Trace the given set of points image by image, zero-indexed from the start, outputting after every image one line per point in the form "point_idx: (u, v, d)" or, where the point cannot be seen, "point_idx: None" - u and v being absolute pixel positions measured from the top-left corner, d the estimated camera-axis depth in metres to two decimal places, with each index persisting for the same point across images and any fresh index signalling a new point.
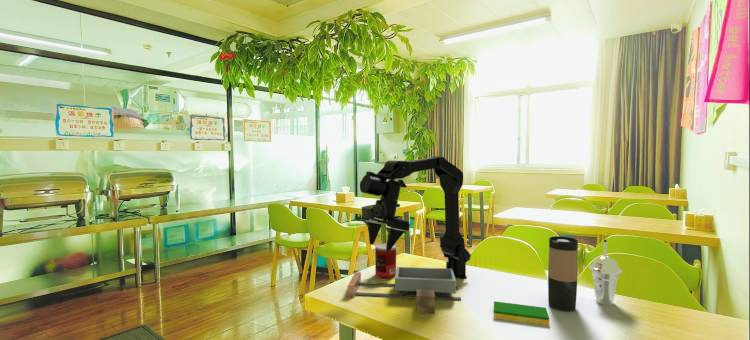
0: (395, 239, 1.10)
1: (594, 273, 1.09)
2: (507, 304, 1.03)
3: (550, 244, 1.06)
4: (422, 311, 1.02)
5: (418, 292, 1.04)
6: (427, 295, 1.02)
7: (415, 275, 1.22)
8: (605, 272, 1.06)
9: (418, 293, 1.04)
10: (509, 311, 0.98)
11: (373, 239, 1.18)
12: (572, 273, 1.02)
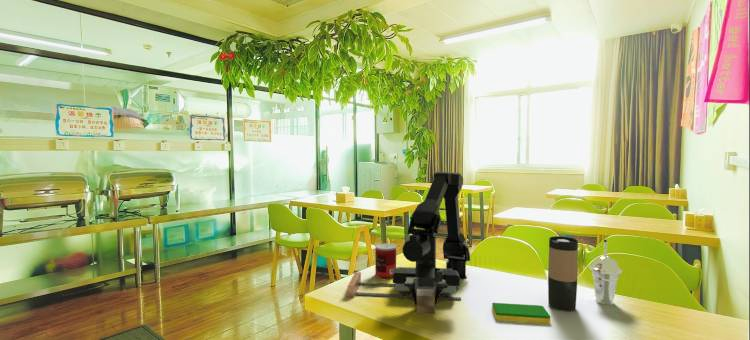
0: None
1: (594, 273, 1.09)
2: (506, 305, 1.03)
3: (550, 244, 1.06)
4: (422, 311, 1.02)
5: (418, 292, 1.04)
6: (427, 295, 1.02)
7: None
8: (605, 272, 1.06)
9: (418, 293, 1.04)
10: (511, 312, 0.98)
11: (416, 299, 1.05)
12: (572, 273, 1.02)
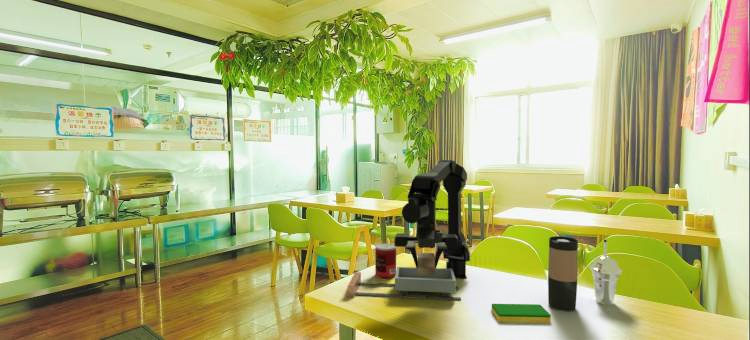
0: None
1: (594, 273, 1.09)
2: (505, 305, 1.02)
3: (550, 244, 1.06)
4: (423, 272, 1.07)
5: (419, 255, 1.09)
6: (428, 257, 1.07)
7: (415, 275, 1.22)
8: (605, 272, 1.06)
9: (419, 255, 1.08)
10: (512, 313, 0.98)
11: None
12: (572, 273, 1.02)
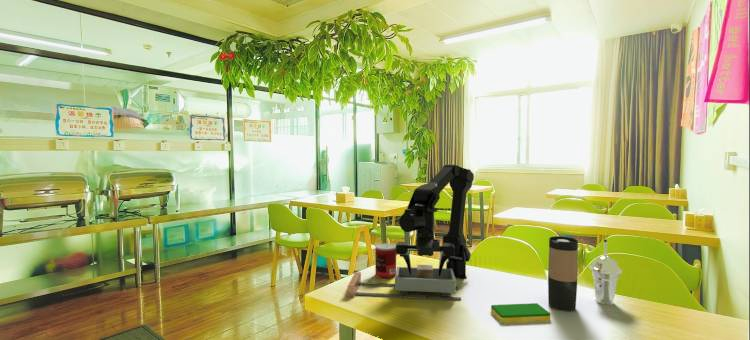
0: None
1: (594, 273, 1.09)
2: (505, 306, 1.02)
3: (550, 244, 1.06)
4: None
5: (418, 266, 1.17)
6: (426, 269, 1.15)
7: (415, 275, 1.22)
8: (605, 272, 1.06)
9: (418, 267, 1.16)
10: (514, 313, 0.97)
11: None
12: (572, 273, 1.02)
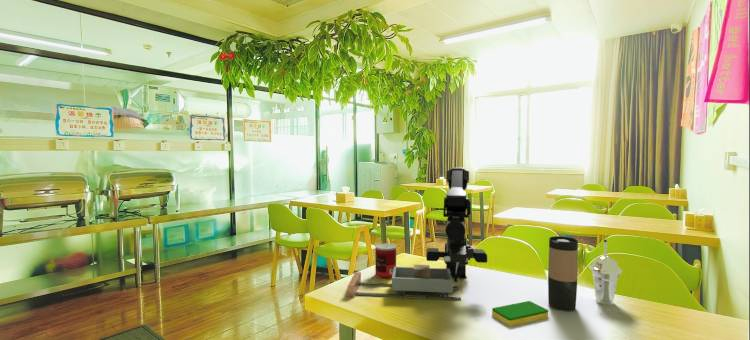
0: None
1: (594, 273, 1.09)
2: (505, 307, 1.01)
3: (550, 244, 1.06)
4: None
5: (415, 266, 1.17)
6: (423, 269, 1.15)
7: (412, 275, 1.22)
8: (605, 272, 1.06)
9: (415, 267, 1.17)
10: (519, 314, 0.97)
11: None
12: (572, 273, 1.02)
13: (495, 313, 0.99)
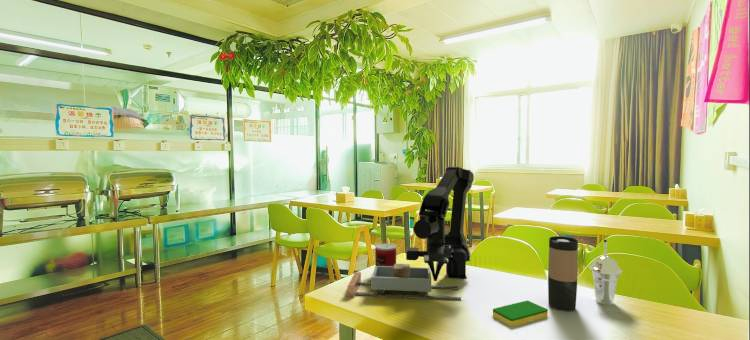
0: None
1: (594, 273, 1.09)
2: (505, 308, 1.01)
3: (550, 244, 1.06)
4: None
5: (395, 266, 1.18)
6: (403, 268, 1.16)
7: (393, 274, 1.23)
8: (605, 272, 1.06)
9: (395, 266, 1.17)
10: (520, 314, 0.96)
11: (435, 274, 1.17)
12: (572, 273, 1.02)
13: (496, 314, 0.99)
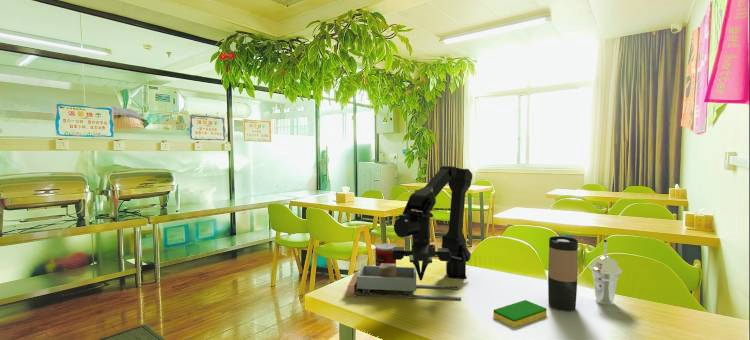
0: None
1: (594, 273, 1.09)
2: (506, 308, 1.00)
3: (550, 244, 1.06)
4: None
5: (381, 265, 1.19)
6: (389, 267, 1.16)
7: None
8: (605, 272, 1.06)
9: (381, 266, 1.18)
10: (521, 314, 0.96)
11: None
12: (572, 273, 1.02)
13: (497, 315, 0.98)
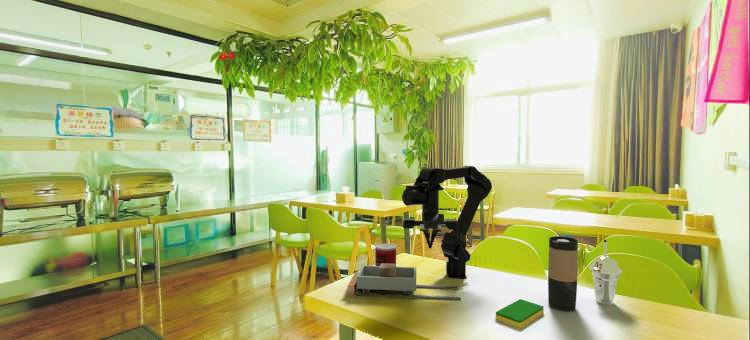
0: None
1: (594, 273, 1.09)
2: (507, 309, 1.00)
3: (550, 244, 1.06)
4: None
5: (381, 265, 1.19)
6: (389, 267, 1.16)
7: None
8: (605, 272, 1.06)
9: (381, 266, 1.18)
10: (524, 315, 0.96)
11: None
12: (572, 273, 1.02)
13: (500, 317, 0.97)
